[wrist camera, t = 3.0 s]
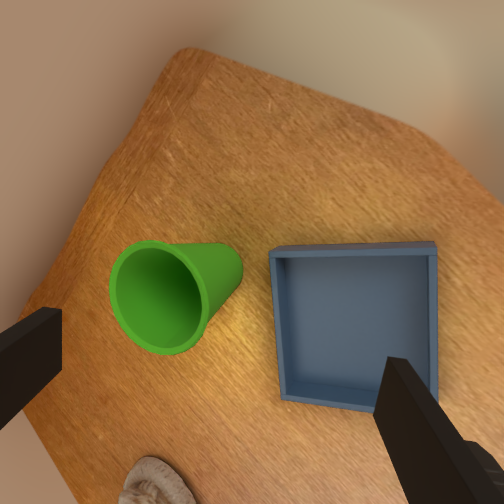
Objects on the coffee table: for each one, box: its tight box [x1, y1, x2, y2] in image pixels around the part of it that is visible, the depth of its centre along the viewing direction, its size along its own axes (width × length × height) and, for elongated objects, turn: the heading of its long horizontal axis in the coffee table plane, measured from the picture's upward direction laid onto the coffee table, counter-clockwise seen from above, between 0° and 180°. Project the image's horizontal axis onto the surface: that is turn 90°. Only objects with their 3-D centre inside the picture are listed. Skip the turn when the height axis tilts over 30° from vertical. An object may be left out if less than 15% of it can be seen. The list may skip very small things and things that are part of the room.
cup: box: [109, 240, 243, 355], centre depth 32 cm, size 9×9×11 cm
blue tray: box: [268, 241, 438, 413], centre depth 31 cm, size 14×13×3 cm
